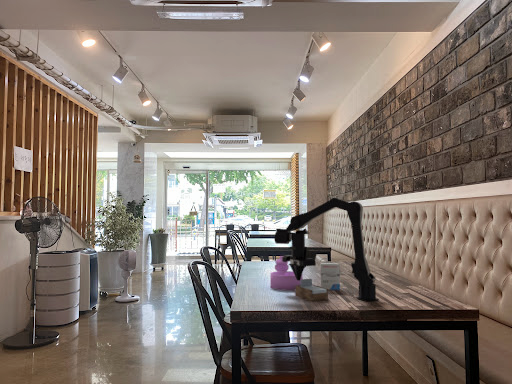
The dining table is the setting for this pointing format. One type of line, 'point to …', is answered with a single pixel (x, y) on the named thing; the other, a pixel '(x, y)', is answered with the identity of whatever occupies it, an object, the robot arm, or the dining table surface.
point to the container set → (283, 277)
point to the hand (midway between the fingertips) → (298, 280)
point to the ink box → (330, 276)
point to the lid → (311, 286)
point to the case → (310, 294)
